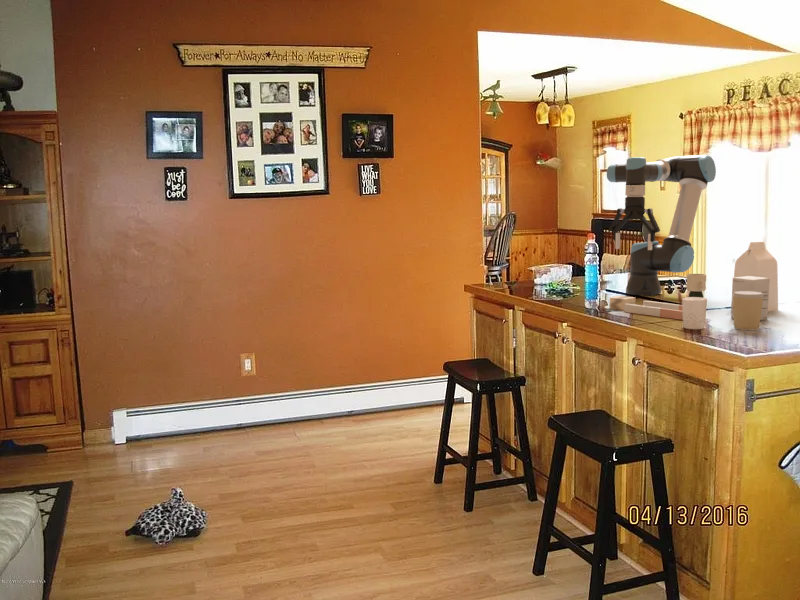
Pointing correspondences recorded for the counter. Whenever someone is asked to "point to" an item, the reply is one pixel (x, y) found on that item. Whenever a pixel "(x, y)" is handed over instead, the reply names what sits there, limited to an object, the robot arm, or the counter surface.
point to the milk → (760, 269)
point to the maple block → (621, 302)
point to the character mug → (696, 284)
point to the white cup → (694, 312)
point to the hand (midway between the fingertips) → (633, 249)
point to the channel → (656, 309)
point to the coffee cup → (747, 309)
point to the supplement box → (752, 285)
